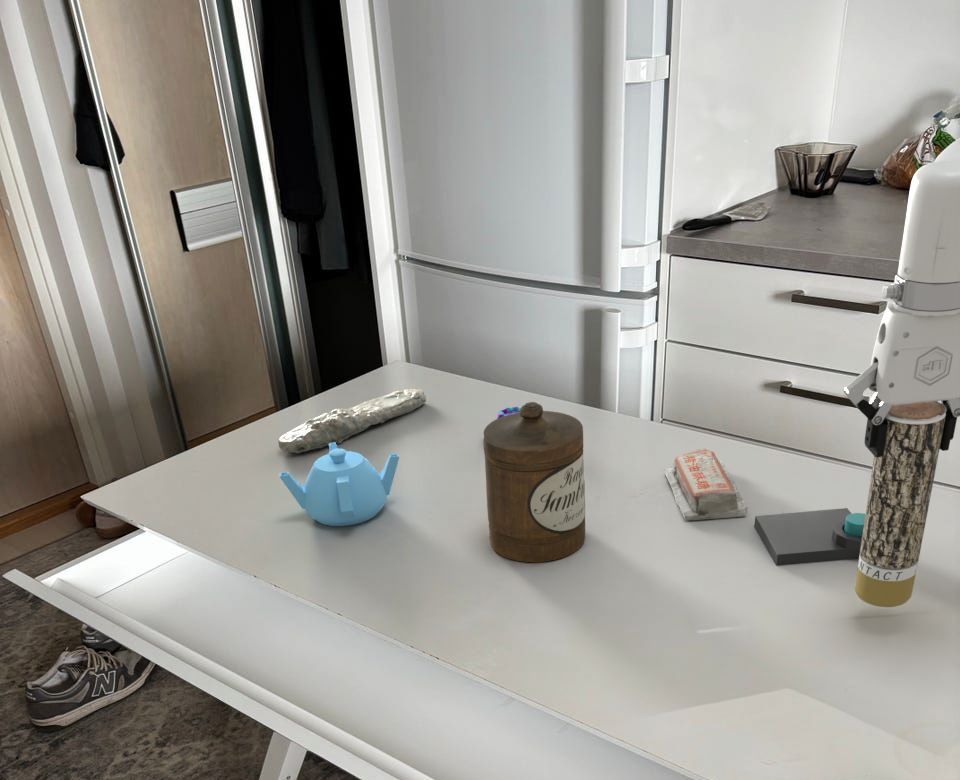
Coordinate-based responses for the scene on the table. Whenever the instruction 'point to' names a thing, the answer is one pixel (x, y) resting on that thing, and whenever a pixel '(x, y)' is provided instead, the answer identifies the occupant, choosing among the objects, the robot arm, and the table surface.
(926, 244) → the robot arm
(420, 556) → the table surface
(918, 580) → the table surface
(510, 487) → the wooden container
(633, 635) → the table surface
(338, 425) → the foil wrapped baguette
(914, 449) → the paper tube
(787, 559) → the push button base
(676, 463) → the packaged product
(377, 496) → the teapot
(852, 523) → the tare button
